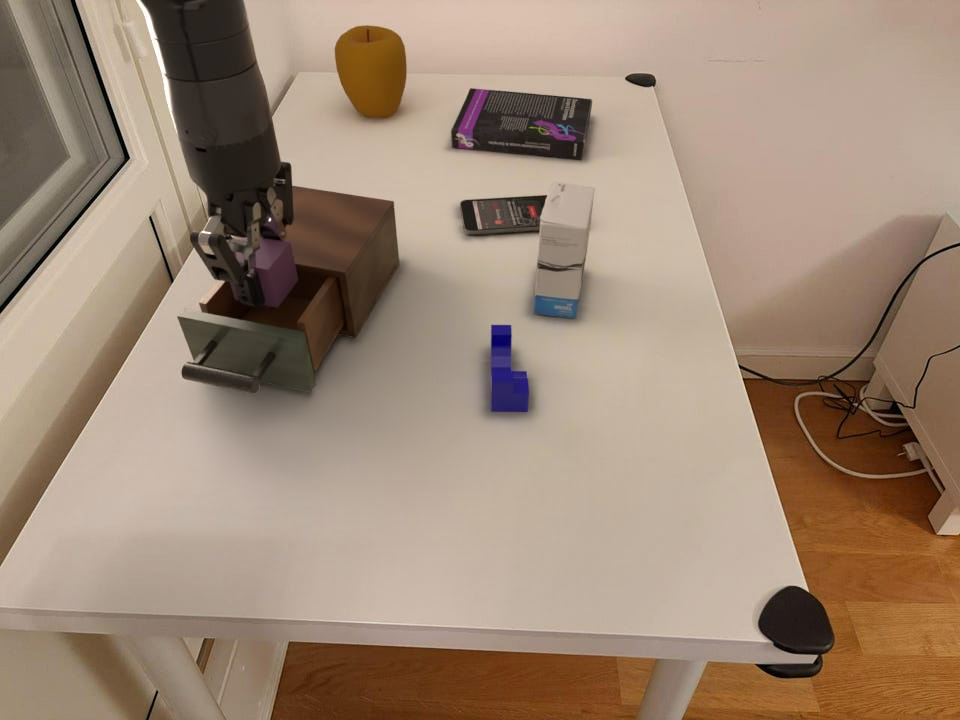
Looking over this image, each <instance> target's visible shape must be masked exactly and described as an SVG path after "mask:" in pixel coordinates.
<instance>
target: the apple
mask: <svg viewBox="0 0 960 720" xmlns="http://www.w3.org/2000/svg"><path fill="white" fill-rule="evenodd" d="M406 53H407V52H406V48H405V44H404V42H403V39H402V37H401V36H400V35H399V34H398V33H397V32H395V31H394V30H392V29H390V28H386V27H384V26H383V27H382V26H378V25H357V26H354V27H352V28H349V29H348V30H347V31H346V32H344V33H342V34H341V35H340V36H339V37H338V39H337V41H336V42H335V46H334V60H335V66H336V67H335V68H336V72H337V75H338V78H339V81H340V85H341V87H342V89H343V91H344V93H345V95H346V97H347V98H348V100H349V101H350V104H351V105H352V106H353V107H354V109H355V110H356V111H357V112H358V114H360V115H361V116H362V117H365V118H372V119H373V118H374V119H386V118H389V117H393V115H395V114H396V113H397V112H398V110H399V107H400V106H401V103H402V99H403V95H404V92H405V88H406V82H407V72H408V71H407V69H408V68H407V54H406Z"/></svg>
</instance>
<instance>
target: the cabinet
mask: <svg viewBox="0 0 960 720" xmlns="http://www.w3.org/2000/svg"><path fill="white" fill-rule="evenodd" d="M292 191H293V213H294V220H293V223H292V224H291V225H286V227H285V229H286V232H287V235H286V239H285V240H284V241H285V242H290V243H291V248H292V252H293V257H294V262H295V266H296V270H300V271H305V272H311V273H316V274H322V275H328V276H333V277H339V279H340V285H341V291H342V297H343V303H344V310H345V316H346V322H345V324H344V325H343V327H342V329H341V330H340V332H339V333H338V336H344V337H350V338H354V339H356V338H357V336H358V335H359V333H360V332H361V329H362V328H363V326H364V324H366V322H367V319H368V318H369V316H370V314H371V313H372V311H373V309H374V308H375V306H376V304H377V303H378V301H379V299H381V296H382V294H383V293H384V291H385V289H386V287H388V284H389V283H390V281H391V280H392V277H394V274H395V273H396V271H397V270H398V268H399V266H400V255H399V254H400V253H399V243H398V233H397V232H398V231H397V221H396V211H395V201H394V200H388V199H384V198H383V199H382V198H375V197H371V196H370V197H369V196H363V195H356V194H350V193H343V192H338V191H337V192H336V191H331V190H323V189H318V188H310V187H303V186H298V185H297V186H296V185H292ZM276 201H277V203H278V205H279V207H280V209H281V211H283V203H282V201H281V200H278V199H276ZM232 238H234V239H238V240H244V239H245V238H243V237H237V236H232Z"/></svg>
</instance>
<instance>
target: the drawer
mask: <svg viewBox="0 0 960 720" xmlns="http://www.w3.org/2000/svg"><path fill="white" fill-rule="evenodd" d="M296 271H297V276H298V281H297V283H296V284H295V285H294V287H293V288H292V289H291V291H290V292H289V293H288V295H287V296H286V297H285V299H284V300H283V301H282V303H281V304H280V305H279V307H278V308H275V307H270V306H265V305H262V306H261V307H253V306H248V305H244V304H242V303H241V302H240V301H238V300H235V298H234V294H233V291H232V288H231V284H230V282H228V281H222V280H221V281H220V280H216V282H215V284H214V285H213V286H212V287H211V288H210V289H209V291H207V292H206V294H205V295H204V296H202V297H203V298H202V299H201V300H200V301H199V302H198V306H199V308H200V311H198V310H192V309H188V308H183V309H182V310H180V312H179V313H178V315H176V318H177V320H178V323H179V325H180V329H181V331H182V333H183V336H184V339H185V341H186V344H187V347H188V349H189V352H190V355H191V357H192V360H193V361H192V362H191V361H187V362H185V363H184V364H183V366H182V368H181V372H180V374H181V377H182V379H183V380H187V381H190V382H196V383H199V384H200V383H201V384H204V385H210V386H214V387H219V388H224V389H227V390H233V391H237V392H243V393H247V394H252V395H255V394H257V393H258V392H259V389H260V388H261V383H263V384H269V385H274V386H279V387H283V388H288V389H292V390H298V391H301V392H307V393H312V392H313V390H314V389H315V387H316V386H317V381H316V378H315V373H314V372H316V370H317V369H318V368H319V365H320V364H321V362H322V361H323V359H324V358H325V356H326V354H327V353H328V351H329V349H330V348H331V346H332V345H333V343H334V342H335V340H336V339H337V337H338V336H339V334H338V333H339V332H340V330H341V329H342V327H343V325H344V324H345V322H346V316H345V310H344V303H343V297H342V291H341V285H340V279H339V277H333V276H328V275H322V274H316V273H311V272H305V271H300V270H296Z"/></svg>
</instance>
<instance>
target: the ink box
mask: <svg viewBox="0 0 960 720" xmlns="http://www.w3.org/2000/svg"><path fill="white" fill-rule="evenodd" d="M595 189H596V188H595V187H592V186H587V185H581V184H580V185H579V184H572V183H567V182H566V183H565V182H558V181H552V182H551V183H550V184H549V187H548V191H547V194H546V195H547V198H546V200H545V205H544V208H543V210H542V214H541V216H540V219H541V221H540V230H539V233H538V246H537V247H538V249H537V261H536V273H535V274H536V276H535V288H534V298H533V299H534V300H533V311H532V312H533V314H534V315H542V316H552V317H559V318H566V319H576V318H577V313H578V307H579V302H580V296H581V290H582V284H583V278H584V272H585V265H586V259H587V253H588V245H589V239H590V231H591V225H592V223H591V222H592V216H593V215H592V213H593V206H594V200H595V199H594V198H595Z"/></svg>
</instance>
